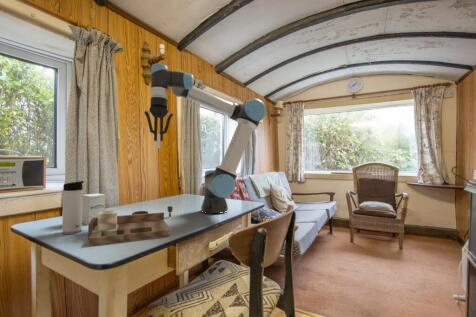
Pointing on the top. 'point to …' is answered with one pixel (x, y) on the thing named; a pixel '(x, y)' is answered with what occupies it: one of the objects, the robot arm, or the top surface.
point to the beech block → (107, 220)
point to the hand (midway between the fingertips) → (158, 148)
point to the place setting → (147, 212)
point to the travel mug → (72, 208)
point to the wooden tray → (129, 229)
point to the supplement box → (92, 206)
